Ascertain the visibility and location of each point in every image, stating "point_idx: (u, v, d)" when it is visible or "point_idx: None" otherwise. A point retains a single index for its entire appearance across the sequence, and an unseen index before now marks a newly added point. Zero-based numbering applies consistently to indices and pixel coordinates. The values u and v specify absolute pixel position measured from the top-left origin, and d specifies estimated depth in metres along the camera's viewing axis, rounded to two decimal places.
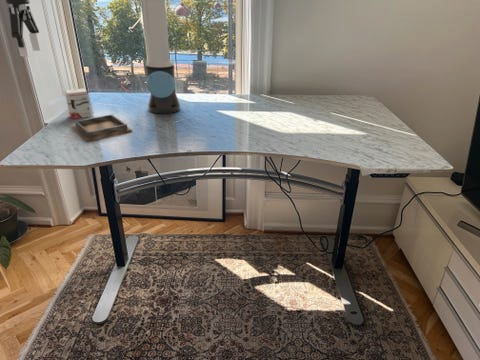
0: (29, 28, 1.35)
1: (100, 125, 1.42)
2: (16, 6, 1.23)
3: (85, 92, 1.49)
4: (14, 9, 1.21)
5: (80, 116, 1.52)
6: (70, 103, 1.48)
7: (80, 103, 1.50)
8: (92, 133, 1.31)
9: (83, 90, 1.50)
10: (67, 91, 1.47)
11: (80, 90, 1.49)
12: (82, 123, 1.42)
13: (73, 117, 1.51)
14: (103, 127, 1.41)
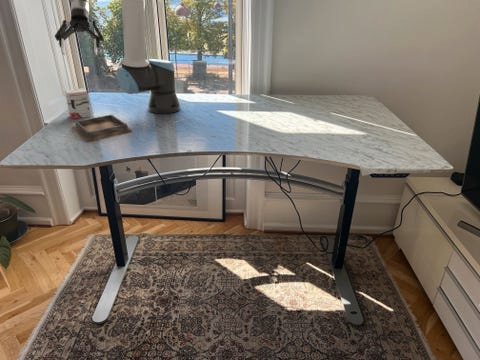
0: None
1: (100, 125, 1.42)
2: None
3: (85, 92, 1.49)
4: None
5: (80, 116, 1.52)
6: (70, 103, 1.48)
7: (80, 103, 1.50)
8: (92, 133, 1.31)
9: (83, 90, 1.50)
10: (67, 91, 1.47)
11: (80, 90, 1.49)
12: (82, 123, 1.42)
13: (73, 117, 1.51)
14: (103, 127, 1.41)
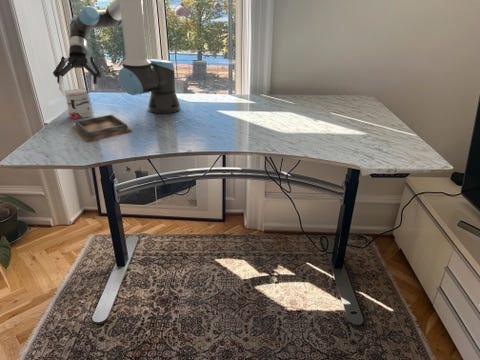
0: (91, 74, 1.58)
1: (100, 125, 1.42)
2: None
3: (85, 92, 1.49)
4: None
5: (80, 116, 1.52)
6: (70, 103, 1.48)
7: (80, 103, 1.50)
8: (92, 133, 1.31)
9: (83, 90, 1.50)
10: (67, 91, 1.47)
11: (80, 90, 1.49)
12: (82, 123, 1.42)
13: (73, 117, 1.51)
14: (103, 127, 1.41)
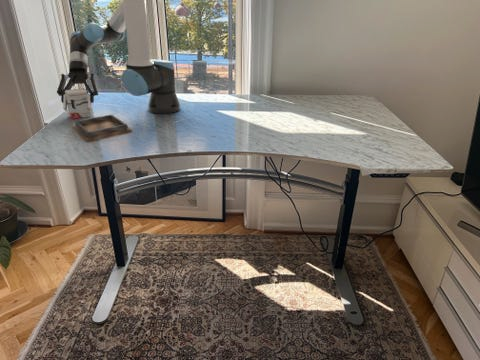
0: None
1: (100, 125, 1.42)
2: None
3: (85, 92, 1.49)
4: None
5: (80, 116, 1.52)
6: (70, 103, 1.47)
7: (80, 103, 1.50)
8: (92, 133, 1.31)
9: (83, 90, 1.50)
10: (67, 91, 1.47)
11: (80, 90, 1.49)
12: (82, 123, 1.42)
13: (73, 117, 1.51)
14: (103, 127, 1.41)
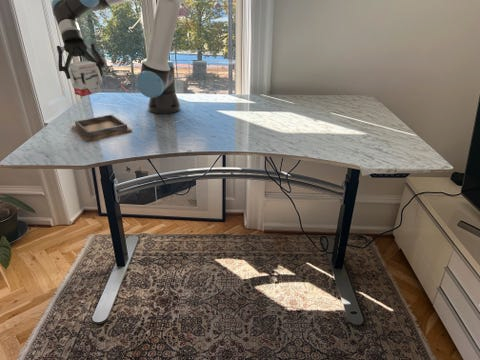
0: None
1: (100, 125, 1.42)
2: (64, 45, 1.32)
3: (94, 64, 1.32)
4: (57, 48, 1.31)
5: (89, 92, 1.34)
6: (80, 77, 1.29)
7: (90, 76, 1.32)
8: (92, 133, 1.31)
9: (90, 62, 1.32)
10: (74, 64, 1.28)
11: (87, 62, 1.32)
12: (82, 123, 1.42)
13: (83, 94, 1.32)
14: (103, 127, 1.41)
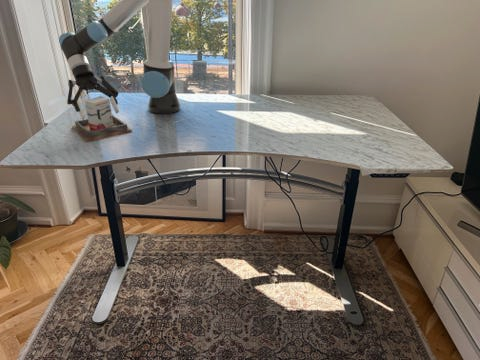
0: (107, 95, 1.41)
1: None
2: (75, 79, 1.35)
3: (108, 99, 1.37)
4: None
5: (104, 127, 1.39)
6: (96, 114, 1.34)
7: (104, 112, 1.37)
8: (92, 133, 1.31)
9: (104, 98, 1.37)
10: (89, 101, 1.32)
11: (101, 98, 1.36)
12: (82, 123, 1.42)
13: (99, 129, 1.37)
14: None
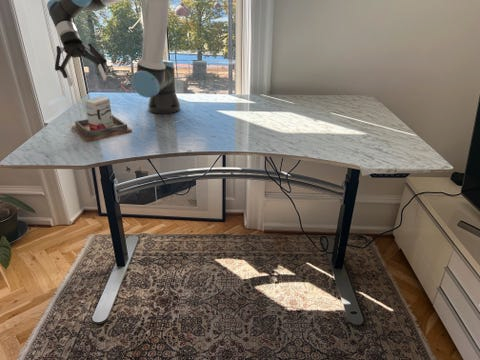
0: (95, 62, 1.43)
1: None
2: (64, 46, 1.38)
3: (108, 99, 1.37)
4: (56, 48, 1.36)
5: (104, 127, 1.39)
6: (96, 114, 1.34)
7: (104, 112, 1.37)
8: (92, 133, 1.31)
9: (104, 98, 1.37)
10: (89, 101, 1.32)
11: (101, 98, 1.36)
12: (82, 123, 1.42)
13: (99, 129, 1.37)
14: None
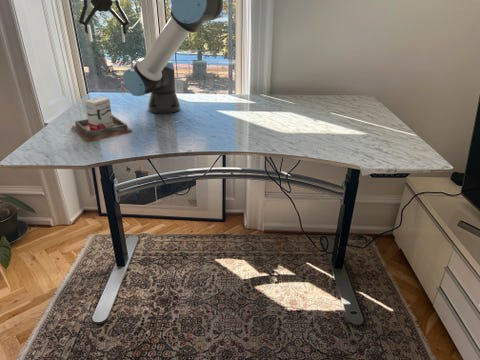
0: (119, 20, 1.46)
1: None
2: None
3: (108, 99, 1.37)
4: None
5: (104, 127, 1.39)
6: (96, 114, 1.34)
7: (104, 112, 1.37)
8: (92, 133, 1.31)
9: (104, 98, 1.37)
10: (89, 101, 1.32)
11: (101, 98, 1.36)
12: (82, 123, 1.42)
13: (99, 129, 1.37)
14: None
